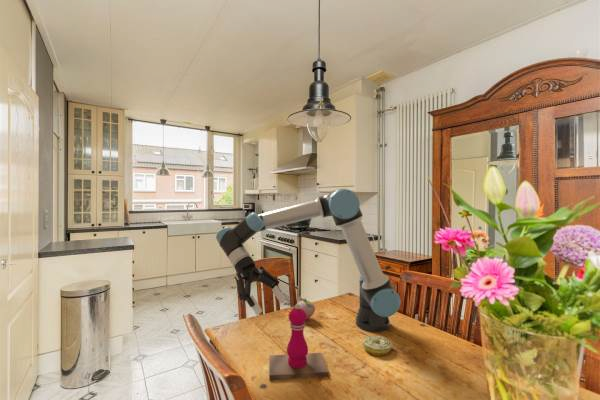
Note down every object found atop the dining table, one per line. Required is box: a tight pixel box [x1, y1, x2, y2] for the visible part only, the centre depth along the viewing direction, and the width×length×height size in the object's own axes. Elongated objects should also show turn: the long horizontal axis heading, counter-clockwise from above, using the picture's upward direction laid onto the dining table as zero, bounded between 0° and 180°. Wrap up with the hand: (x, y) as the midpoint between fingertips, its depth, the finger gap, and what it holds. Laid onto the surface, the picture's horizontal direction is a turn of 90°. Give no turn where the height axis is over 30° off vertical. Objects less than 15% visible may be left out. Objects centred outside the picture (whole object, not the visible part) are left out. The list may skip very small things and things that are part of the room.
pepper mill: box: [286, 303, 309, 368], centre depth 99 cm, size 7×7×20 cm
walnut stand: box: [268, 352, 330, 381], centre depth 99 cm, size 19×12×2 cm, turn 96°
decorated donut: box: [362, 335, 393, 357], centre depth 112 cm, size 10×11×4 cm
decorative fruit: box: [297, 297, 316, 320], centre depth 140 cm, size 9×8×10 cm
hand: (272, 307), depth 106 cm, fingers open, 13 cm apart
